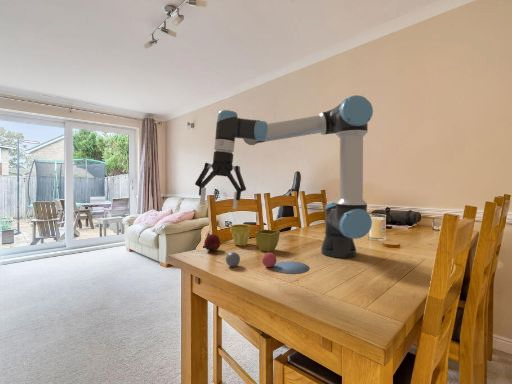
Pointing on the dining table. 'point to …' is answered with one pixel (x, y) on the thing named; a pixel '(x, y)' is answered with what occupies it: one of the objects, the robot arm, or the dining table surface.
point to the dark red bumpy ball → (212, 242)
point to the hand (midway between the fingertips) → (218, 206)
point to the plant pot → (240, 234)
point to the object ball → (269, 259)
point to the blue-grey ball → (232, 259)
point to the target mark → (290, 267)
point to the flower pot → (267, 239)
